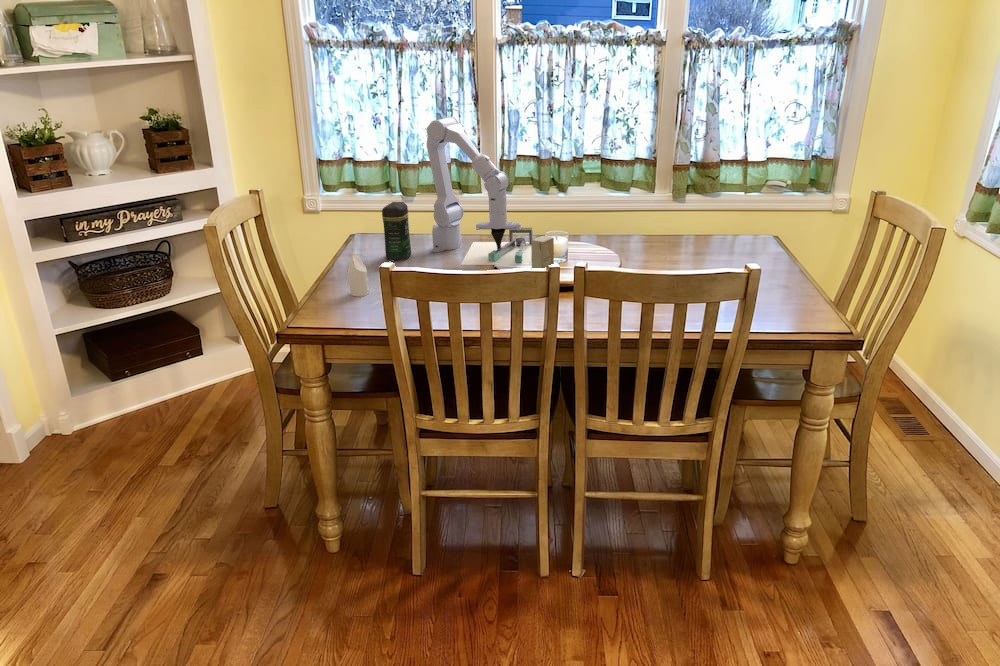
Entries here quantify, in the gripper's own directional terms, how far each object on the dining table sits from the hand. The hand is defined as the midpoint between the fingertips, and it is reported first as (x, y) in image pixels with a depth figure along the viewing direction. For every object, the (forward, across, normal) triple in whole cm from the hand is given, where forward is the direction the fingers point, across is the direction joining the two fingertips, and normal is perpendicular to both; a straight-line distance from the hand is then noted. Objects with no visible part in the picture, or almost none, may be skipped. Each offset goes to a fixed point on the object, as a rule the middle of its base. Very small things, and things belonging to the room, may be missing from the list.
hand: (499, 250), depth 261 cm
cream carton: (+3, -37, -36) cm, 52 cm away
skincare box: (+2, +16, -20) cm, 26 cm away
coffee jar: (+3, -34, -1) cm, 34 cm away
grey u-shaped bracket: (+1, +6, +12) cm, 13 cm away
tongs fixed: (+1, +7, 0) cm, 7 cm away
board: (+2, 0, 0) cm, 2 cm away
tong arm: (+1, +1, -1) cm, 2 cm away
